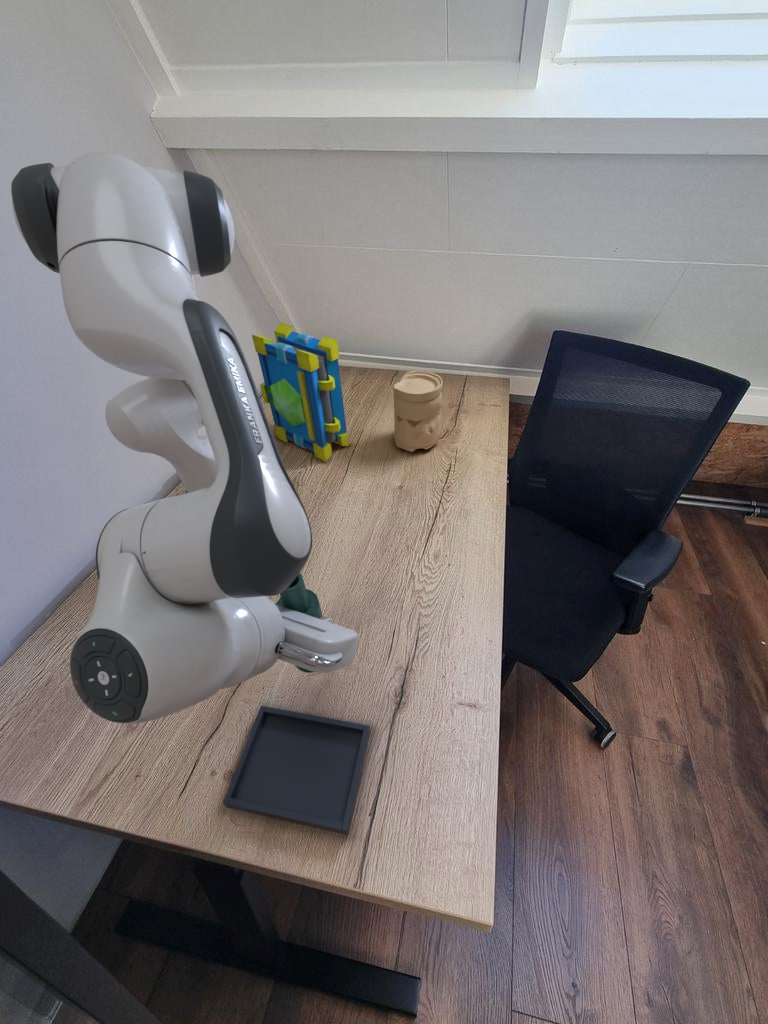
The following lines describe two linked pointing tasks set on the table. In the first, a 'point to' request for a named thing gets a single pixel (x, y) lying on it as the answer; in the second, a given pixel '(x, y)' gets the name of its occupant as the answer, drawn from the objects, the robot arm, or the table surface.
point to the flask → (300, 601)
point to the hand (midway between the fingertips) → (303, 615)
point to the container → (417, 410)
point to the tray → (300, 769)
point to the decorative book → (303, 389)
